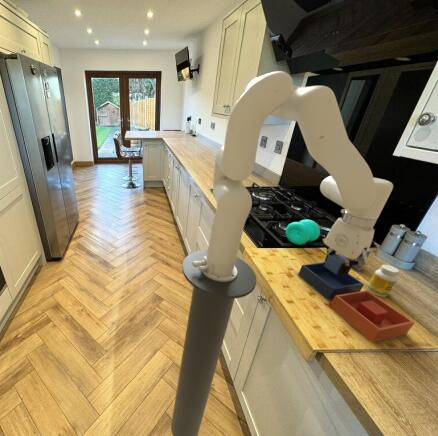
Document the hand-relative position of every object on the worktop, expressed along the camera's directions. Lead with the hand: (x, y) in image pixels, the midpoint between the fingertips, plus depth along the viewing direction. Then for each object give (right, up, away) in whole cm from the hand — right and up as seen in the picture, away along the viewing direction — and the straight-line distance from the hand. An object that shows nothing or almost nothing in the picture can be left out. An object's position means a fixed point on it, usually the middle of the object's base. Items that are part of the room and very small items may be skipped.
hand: (335, 268), depth 78 cm
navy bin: (-1, -6, +3) cm, 7 cm away
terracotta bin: (+1, -13, -10) cm, 16 cm away
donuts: (+6, +6, +29) cm, 30 cm away
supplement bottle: (+14, -8, +1) cm, 17 cm away
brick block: (+1, -12, -10) cm, 16 cm away
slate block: (0, 0, 0) cm, 0 cm away
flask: (+18, -1, +15) cm, 23 cm away
